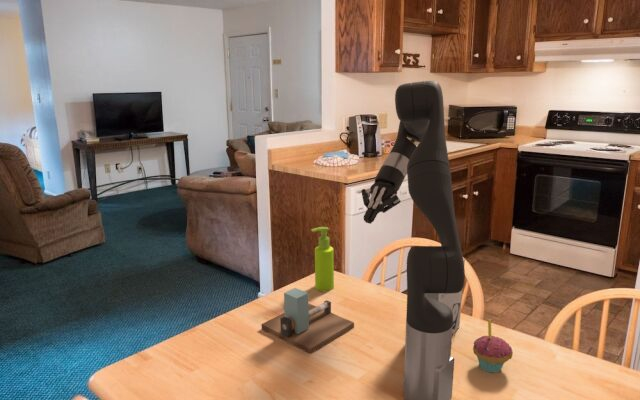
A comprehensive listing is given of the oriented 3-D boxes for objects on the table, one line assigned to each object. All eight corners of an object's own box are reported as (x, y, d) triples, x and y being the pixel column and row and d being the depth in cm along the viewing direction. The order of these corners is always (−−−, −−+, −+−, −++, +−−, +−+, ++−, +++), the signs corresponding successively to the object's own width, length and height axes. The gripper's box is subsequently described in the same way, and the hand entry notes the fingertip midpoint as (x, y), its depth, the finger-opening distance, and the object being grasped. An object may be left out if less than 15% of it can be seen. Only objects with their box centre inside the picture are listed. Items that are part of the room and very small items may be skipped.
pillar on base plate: (353, 327, 131) (354, 307, 129) (310, 354, 119) (309, 332, 117) (305, 306, 142) (305, 288, 141) (261, 329, 130) (260, 309, 129)
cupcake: (464, 360, 115) (467, 314, 112) (493, 353, 118) (497, 308, 115) (488, 381, 107) (492, 332, 104) (518, 373, 110) (524, 325, 107)
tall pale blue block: (308, 328, 127) (308, 293, 124) (298, 334, 124) (297, 298, 122) (295, 322, 130) (295, 287, 128) (285, 327, 127) (283, 292, 125)
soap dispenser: (310, 285, 157) (308, 226, 152) (330, 282, 159) (329, 223, 154) (315, 292, 151) (314, 231, 146) (336, 289, 153) (336, 229, 148)
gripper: (369, 161, 143) (342, 210, 138) (408, 167, 134) (381, 219, 129) (379, 176, 148) (354, 224, 143) (417, 182, 140) (391, 233, 134)
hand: (367, 221), depth 136 cm, fingers closed
